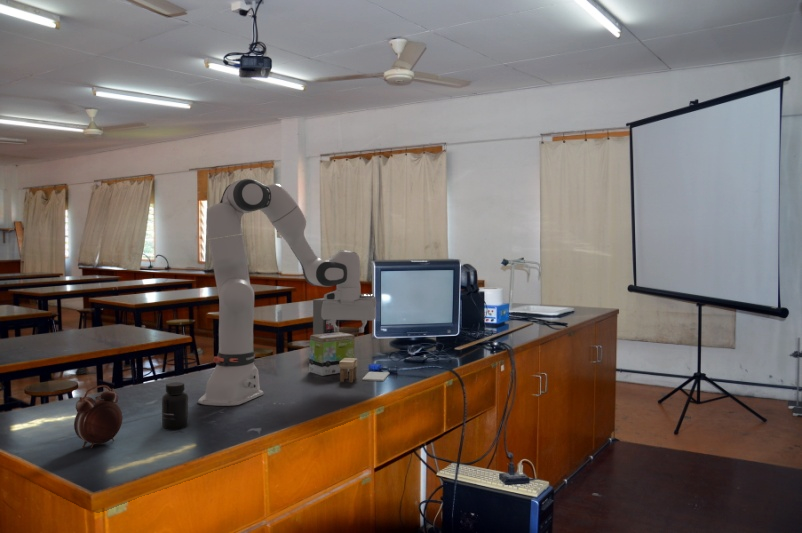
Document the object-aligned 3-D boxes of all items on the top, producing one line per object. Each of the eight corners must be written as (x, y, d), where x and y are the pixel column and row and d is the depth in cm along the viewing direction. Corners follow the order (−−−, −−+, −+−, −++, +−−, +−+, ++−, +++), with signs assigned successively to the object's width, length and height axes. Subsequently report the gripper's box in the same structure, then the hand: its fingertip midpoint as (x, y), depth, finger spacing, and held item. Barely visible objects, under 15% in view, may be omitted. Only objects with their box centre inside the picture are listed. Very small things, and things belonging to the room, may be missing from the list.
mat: (383, 381, 223) (383, 379, 223) (362, 380, 224) (362, 378, 224) (389, 374, 235) (389, 372, 235) (369, 373, 236) (369, 371, 236)
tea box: (323, 376, 230) (323, 338, 229) (308, 372, 238) (308, 334, 237) (355, 371, 240) (355, 334, 239) (340, 367, 248) (340, 331, 247)
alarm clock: (112, 437, 159) (111, 380, 158) (124, 440, 156) (123, 382, 156) (72, 449, 149) (71, 389, 149) (84, 453, 147) (82, 391, 146)
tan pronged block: (352, 382, 220) (352, 362, 220) (339, 382, 221) (339, 361, 221) (357, 378, 227) (357, 358, 227) (344, 377, 228) (344, 358, 228)
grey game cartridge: (324, 356, 270) (324, 300, 269) (312, 355, 272) (312, 299, 271) (340, 351, 282) (340, 297, 281) (329, 350, 285) (329, 297, 284)
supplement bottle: (162, 432, 163) (161, 387, 163) (161, 424, 169) (160, 382, 169) (189, 429, 166) (188, 385, 165) (187, 422, 172) (187, 380, 172)
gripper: (378, 294, 224) (378, 331, 225) (324, 293, 228) (325, 330, 228) (374, 295, 218) (374, 334, 219) (319, 295, 221) (320, 332, 222)
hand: (348, 332), depth 224 cm, fingers open, 8 cm apart
